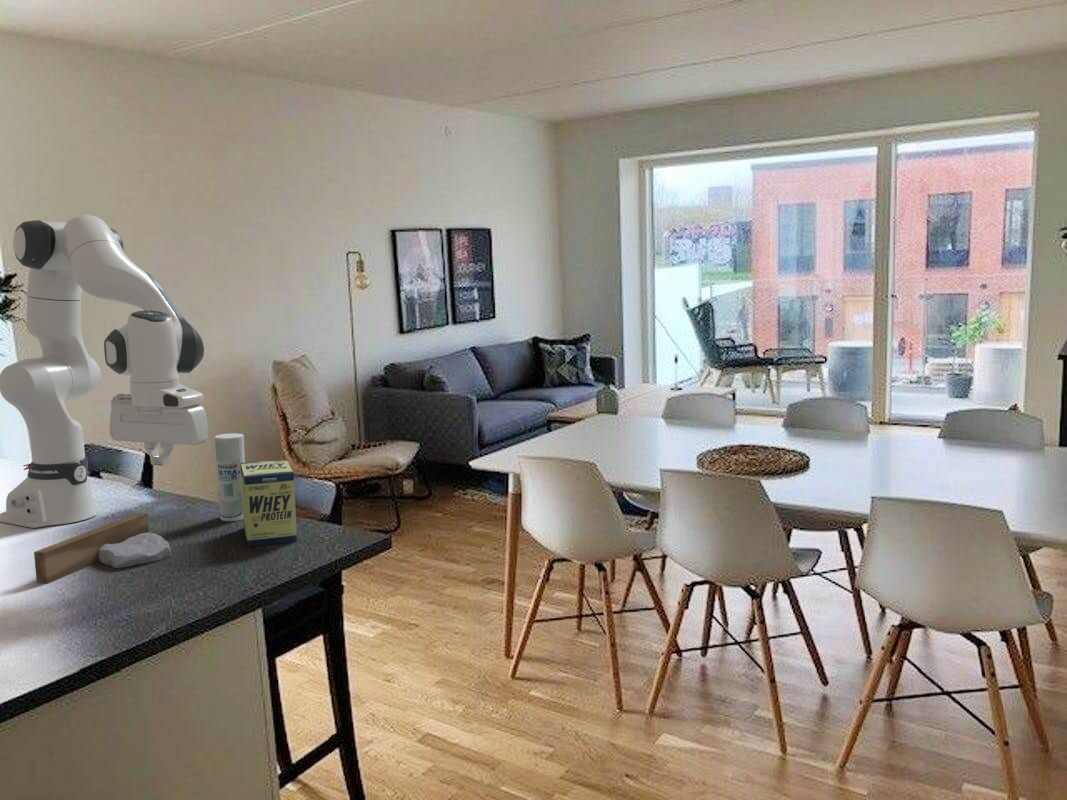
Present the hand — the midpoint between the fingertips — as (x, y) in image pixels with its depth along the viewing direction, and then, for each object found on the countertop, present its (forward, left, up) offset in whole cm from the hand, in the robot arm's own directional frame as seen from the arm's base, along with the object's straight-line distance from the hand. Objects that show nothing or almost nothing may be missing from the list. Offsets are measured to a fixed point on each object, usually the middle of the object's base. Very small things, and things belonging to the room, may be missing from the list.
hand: (160, 464), depth 169 cm
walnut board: (-17, 0, -21) cm, 27 cm away
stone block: (-9, +3, -21) cm, 23 cm away
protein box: (+8, +24, -21) cm, 33 cm away
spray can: (-8, +34, -21) cm, 41 cm away
